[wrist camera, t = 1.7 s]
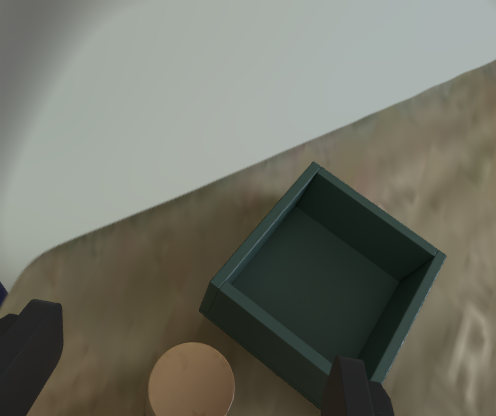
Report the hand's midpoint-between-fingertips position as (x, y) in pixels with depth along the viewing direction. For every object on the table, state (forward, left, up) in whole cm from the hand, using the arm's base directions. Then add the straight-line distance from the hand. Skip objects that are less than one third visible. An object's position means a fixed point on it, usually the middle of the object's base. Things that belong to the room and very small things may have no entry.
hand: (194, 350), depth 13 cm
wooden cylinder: (0, +1, -21) cm, 21 cm away
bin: (+3, +14, -21) cm, 25 cm away
